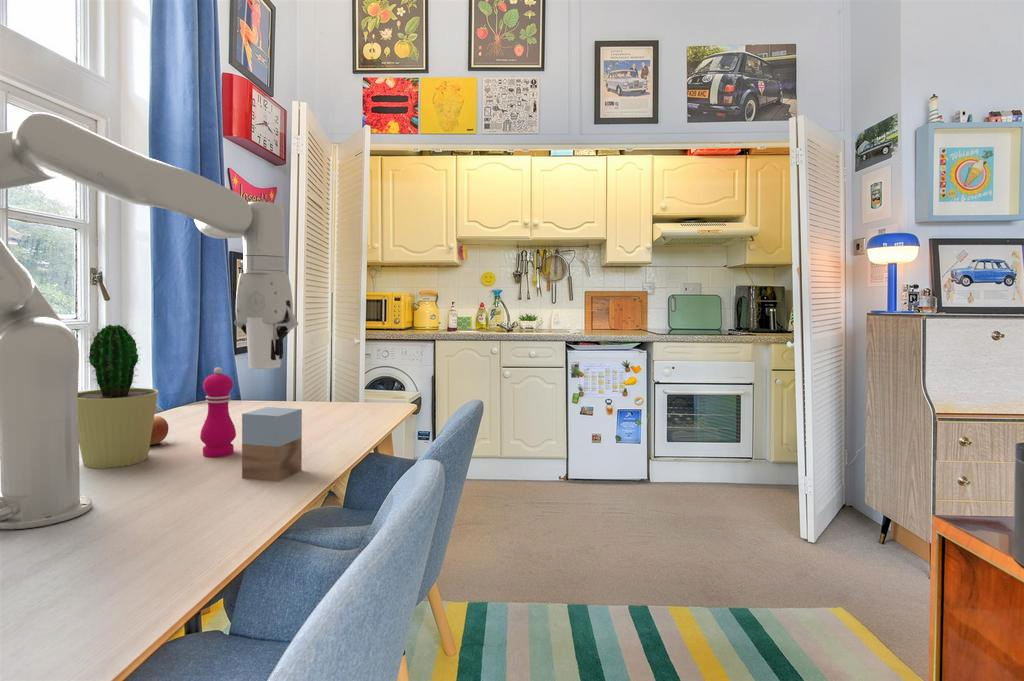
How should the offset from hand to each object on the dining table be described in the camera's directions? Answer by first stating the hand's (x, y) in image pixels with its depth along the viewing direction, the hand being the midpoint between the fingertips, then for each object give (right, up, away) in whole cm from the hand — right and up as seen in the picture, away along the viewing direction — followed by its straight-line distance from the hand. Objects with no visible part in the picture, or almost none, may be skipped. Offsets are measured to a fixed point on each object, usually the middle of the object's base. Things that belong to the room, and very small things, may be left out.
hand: (266, 358), depth 109 cm
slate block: (0, -17, +2) cm, 17 cm away
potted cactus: (-36, -23, +9) cm, 44 cm away
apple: (-39, -22, +23) cm, 50 cm away
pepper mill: (-19, -23, +17) cm, 34 cm away
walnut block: (0, -24, +3) cm, 24 cm away
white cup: (0, -2, 0) cm, 2 cm away
